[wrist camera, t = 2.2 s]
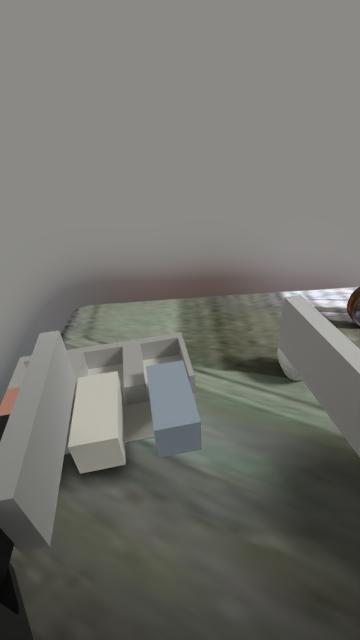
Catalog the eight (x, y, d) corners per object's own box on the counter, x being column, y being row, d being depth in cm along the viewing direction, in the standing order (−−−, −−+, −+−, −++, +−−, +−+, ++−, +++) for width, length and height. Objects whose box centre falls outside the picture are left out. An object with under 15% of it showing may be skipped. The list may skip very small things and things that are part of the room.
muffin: (302, 395, 40) (312, 357, 36) (265, 372, 44) (271, 335, 40) (326, 373, 43) (337, 336, 40) (289, 354, 47) (296, 318, 44)
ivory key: (123, 397, 33) (117, 371, 31) (125, 464, 26) (117, 437, 24) (87, 403, 33) (78, 377, 30) (80, 473, 26) (67, 447, 24)
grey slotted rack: (184, 382, 44) (181, 332, 38) (196, 428, 37) (194, 375, 32) (44, 407, 41) (20, 357, 36) (30, 461, 35) (-1, 409, 29)
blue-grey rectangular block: (184, 386, 34) (182, 360, 32) (201, 449, 27) (200, 421, 25) (150, 392, 33) (145, 366, 31) (158, 457, 27) (153, 430, 25)
